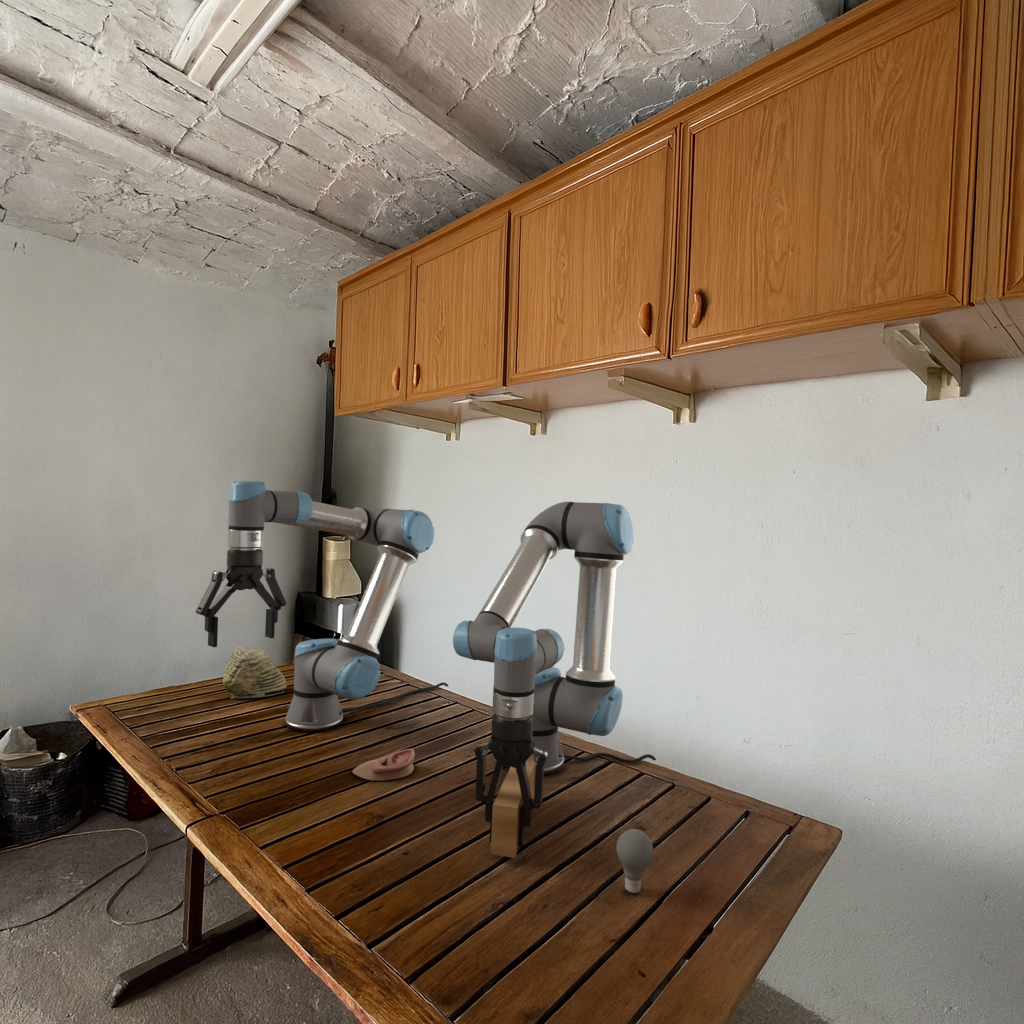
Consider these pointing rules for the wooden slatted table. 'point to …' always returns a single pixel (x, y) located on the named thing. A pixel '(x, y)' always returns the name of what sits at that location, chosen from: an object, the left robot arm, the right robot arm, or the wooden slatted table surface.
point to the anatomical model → (387, 766)
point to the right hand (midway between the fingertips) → (507, 840)
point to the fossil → (252, 674)
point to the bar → (509, 812)
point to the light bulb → (634, 857)
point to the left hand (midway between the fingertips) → (242, 641)
